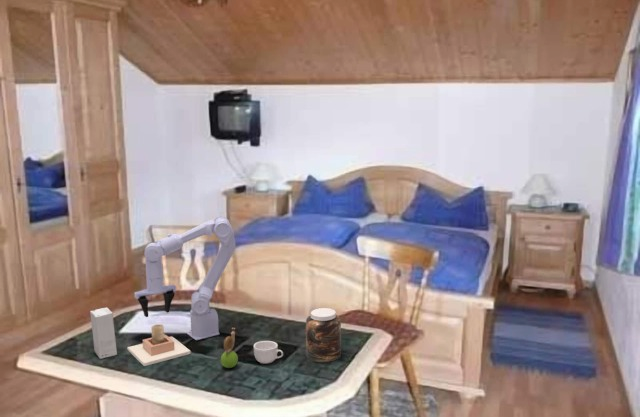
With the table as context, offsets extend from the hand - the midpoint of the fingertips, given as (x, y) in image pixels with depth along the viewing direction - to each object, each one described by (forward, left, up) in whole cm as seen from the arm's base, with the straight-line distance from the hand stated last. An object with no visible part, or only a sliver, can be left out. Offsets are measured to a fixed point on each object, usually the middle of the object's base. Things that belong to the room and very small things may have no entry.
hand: (156, 313), depth 206 cm
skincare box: (+19, +1, -10) cm, 21 cm away
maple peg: (+4, +11, -8) cm, 14 cm away
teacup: (-22, +40, -10) cm, 47 cm away
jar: (-39, +47, -10) cm, 62 cm away
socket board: (+4, +11, -9) cm, 15 cm away
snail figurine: (-10, +36, -10) cm, 39 cm away
